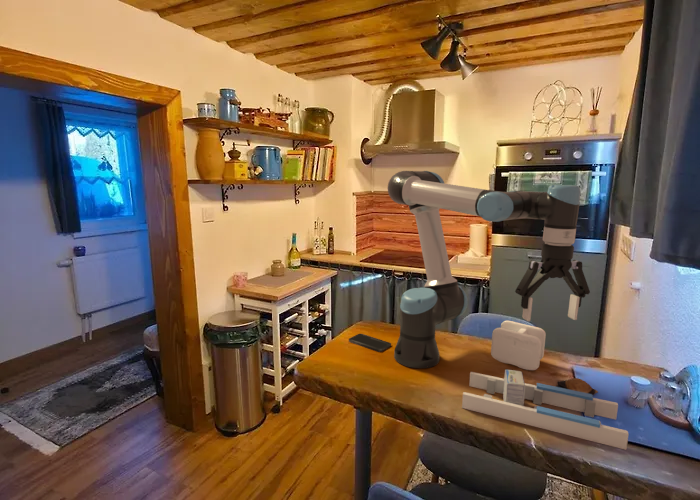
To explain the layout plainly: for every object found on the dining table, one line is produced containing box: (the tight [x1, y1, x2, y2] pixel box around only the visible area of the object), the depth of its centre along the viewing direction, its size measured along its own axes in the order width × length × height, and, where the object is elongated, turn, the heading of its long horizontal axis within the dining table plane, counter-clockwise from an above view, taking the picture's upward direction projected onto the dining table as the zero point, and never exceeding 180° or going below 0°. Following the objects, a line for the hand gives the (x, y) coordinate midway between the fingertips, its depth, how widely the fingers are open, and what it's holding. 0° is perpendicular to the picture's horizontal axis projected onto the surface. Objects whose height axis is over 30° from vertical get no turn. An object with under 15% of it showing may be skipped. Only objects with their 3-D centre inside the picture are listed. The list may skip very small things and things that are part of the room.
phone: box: [348, 333, 392, 353], centre depth 141 cm, size 8×1×15 cm
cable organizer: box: [490, 320, 547, 371], centre depth 126 cm, size 15×11×12 cm
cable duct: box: [461, 371, 629, 451], centre depth 98 cm, size 36×14×5 cm, turn 64°
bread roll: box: [554, 377, 599, 396], centre depth 109 cm, size 11×8×4 cm
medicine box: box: [502, 369, 526, 406], centre depth 101 cm, size 8×4×9 cm, turn 162°
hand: (549, 318), depth 105 cm, fingers open, 13 cm apart
